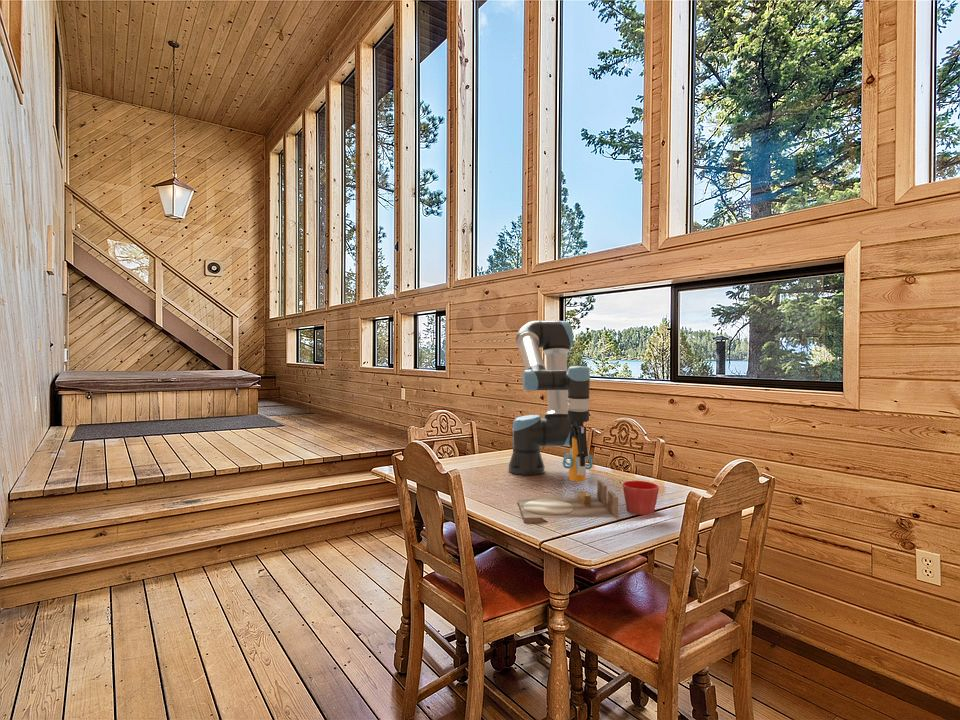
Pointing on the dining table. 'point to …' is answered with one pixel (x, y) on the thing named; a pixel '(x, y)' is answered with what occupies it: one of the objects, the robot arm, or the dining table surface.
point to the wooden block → (584, 498)
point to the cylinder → (575, 463)
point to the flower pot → (640, 496)
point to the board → (569, 506)
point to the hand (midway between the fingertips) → (577, 470)
